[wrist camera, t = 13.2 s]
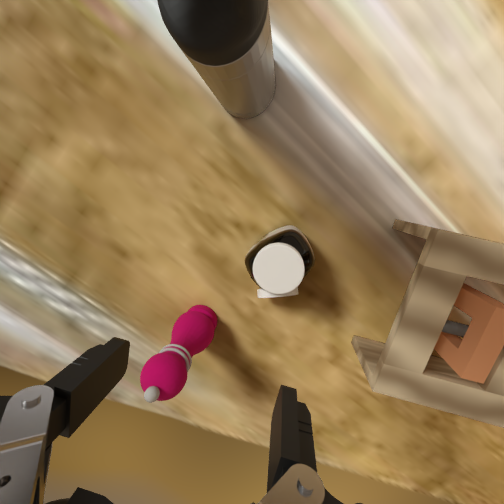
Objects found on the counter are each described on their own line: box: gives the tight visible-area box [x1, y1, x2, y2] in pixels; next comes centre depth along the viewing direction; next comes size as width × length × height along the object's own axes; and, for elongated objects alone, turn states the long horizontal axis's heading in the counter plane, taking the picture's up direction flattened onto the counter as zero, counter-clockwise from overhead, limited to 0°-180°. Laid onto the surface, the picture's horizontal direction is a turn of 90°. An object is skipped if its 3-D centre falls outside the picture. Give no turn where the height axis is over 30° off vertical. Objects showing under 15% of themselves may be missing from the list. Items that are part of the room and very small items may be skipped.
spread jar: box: [245, 225, 315, 298], centre depth 40 cm, size 12×11×12 cm
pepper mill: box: [140, 305, 217, 403], centre depth 40 cm, size 7×7×20 cm
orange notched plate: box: [434, 283, 504, 384], centre depth 34 cm, size 10×3×10 cm, turn 168°
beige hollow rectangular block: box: [351, 219, 504, 428], centre depth 37 cm, size 23×18×12 cm
